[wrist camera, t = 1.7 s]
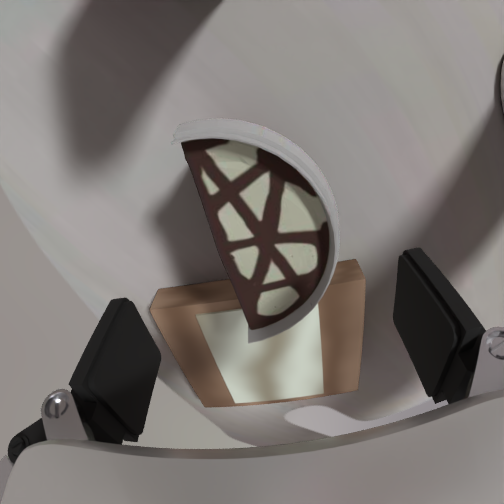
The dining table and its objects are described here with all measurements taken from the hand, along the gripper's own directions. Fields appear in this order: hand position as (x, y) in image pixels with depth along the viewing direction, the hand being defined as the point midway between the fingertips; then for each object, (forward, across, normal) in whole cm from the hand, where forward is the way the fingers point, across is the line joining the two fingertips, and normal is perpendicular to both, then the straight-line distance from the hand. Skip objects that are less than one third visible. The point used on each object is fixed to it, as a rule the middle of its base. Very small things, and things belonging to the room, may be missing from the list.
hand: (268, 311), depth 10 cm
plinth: (+14, +2, +16) cm, 21 cm away
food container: (+14, -1, 0) cm, 14 cm away
